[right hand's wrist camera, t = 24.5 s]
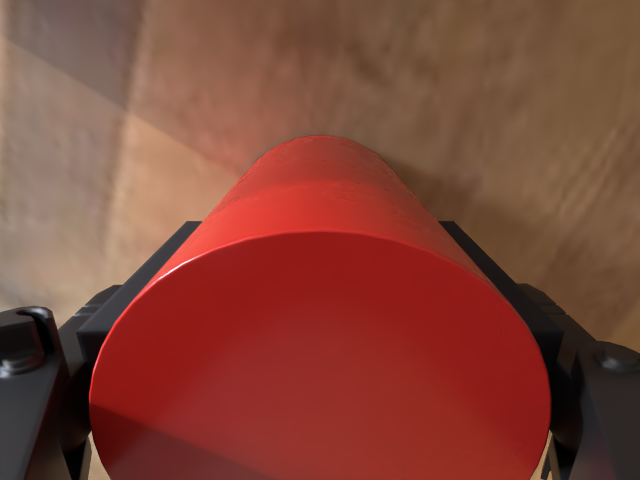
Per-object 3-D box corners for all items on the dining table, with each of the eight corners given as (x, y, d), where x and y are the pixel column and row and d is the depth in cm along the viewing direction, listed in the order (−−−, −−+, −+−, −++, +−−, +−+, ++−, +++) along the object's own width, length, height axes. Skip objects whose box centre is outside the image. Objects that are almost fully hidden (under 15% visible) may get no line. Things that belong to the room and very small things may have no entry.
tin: (443, 225, 17) (642, 444, 7) (319, 329, 19) (318, 626, 8) (321, 92, 15) (322, 101, 5) (196, 224, 17) (-3, 441, 7)
